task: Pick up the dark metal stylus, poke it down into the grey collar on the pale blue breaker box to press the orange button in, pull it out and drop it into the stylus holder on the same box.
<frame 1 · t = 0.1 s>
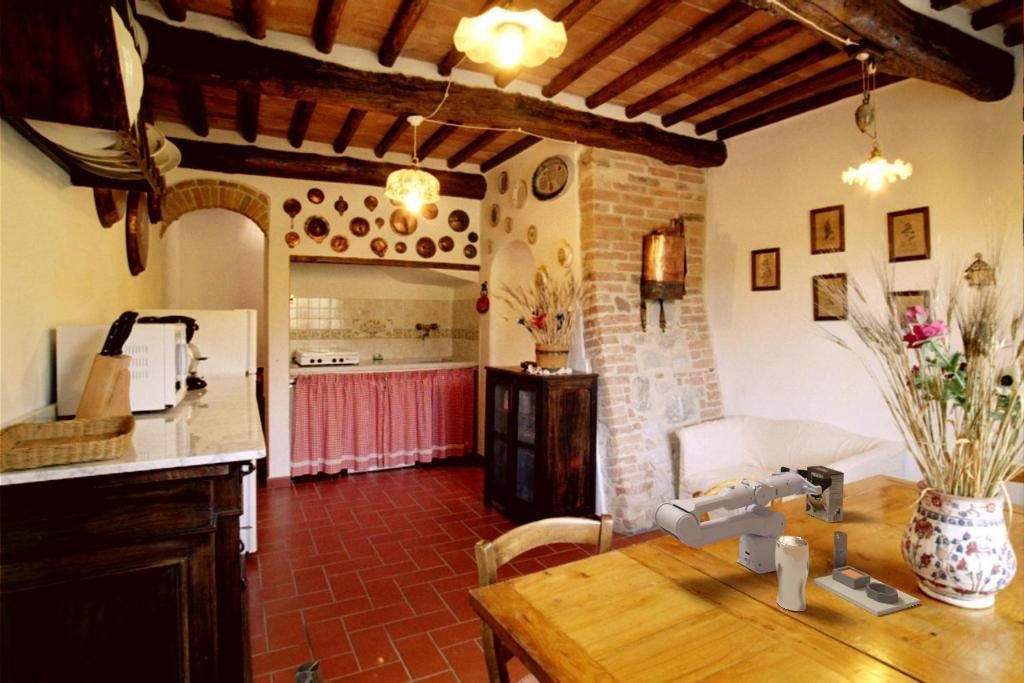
hand: (818, 477, 149), 22 cm above the table, tool horizontal, fingers open, 7 cm apart
panel: (864, 593, 128), on the table
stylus: (840, 567, 142), on the table
beer glass: (791, 606, 123), on the table
button: (851, 576, 131), point 3 cm above the table, slide at 0.0 cm
coffee box: (823, 518, 177), on the table
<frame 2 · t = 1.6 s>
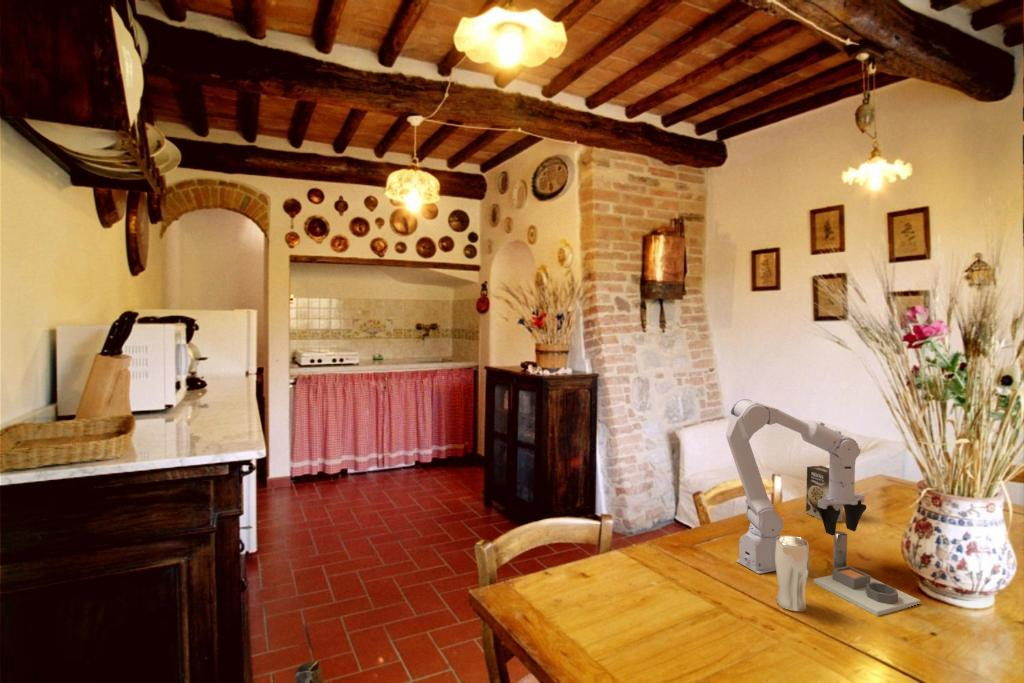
hand: (840, 531, 141), 9 cm above the table, tool pointing down, fingers open, 7 cm apart
nothing on the table moved.
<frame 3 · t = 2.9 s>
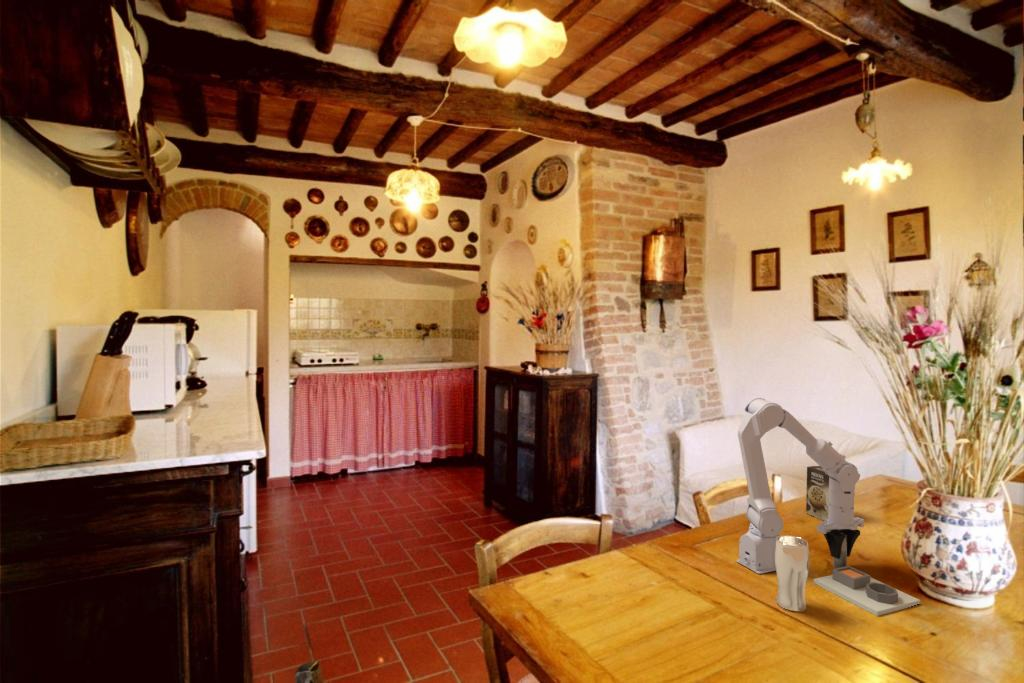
hand: (840, 556, 141), 3 cm above the table, tool pointing down, fingers closed on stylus, 3 cm apart
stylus: (840, 567, 142), on the table, touching gripper
everything else where it was.
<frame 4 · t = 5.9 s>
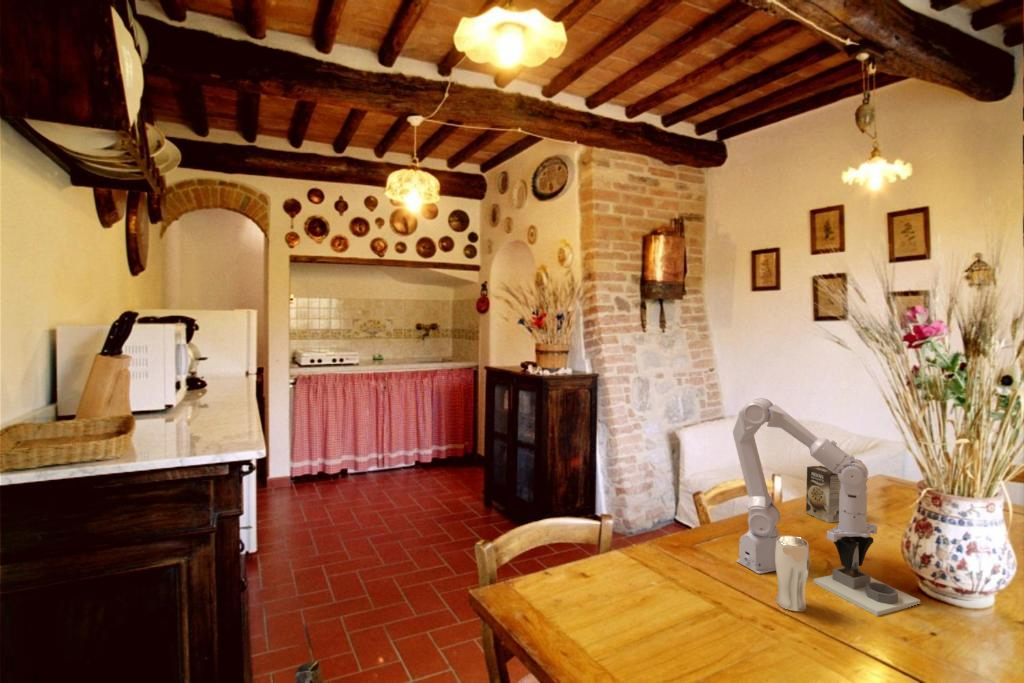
hand: (851, 565, 131), 5 cm above the table, tool pointing down, fingers closed on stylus, 3 cm apart
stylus: (851, 577, 131), point 2 cm above the table, touching button, gripper
button: (851, 579, 131), point 2 cm above the table, slide at 0.9 cm, touching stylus
everything else where it was.
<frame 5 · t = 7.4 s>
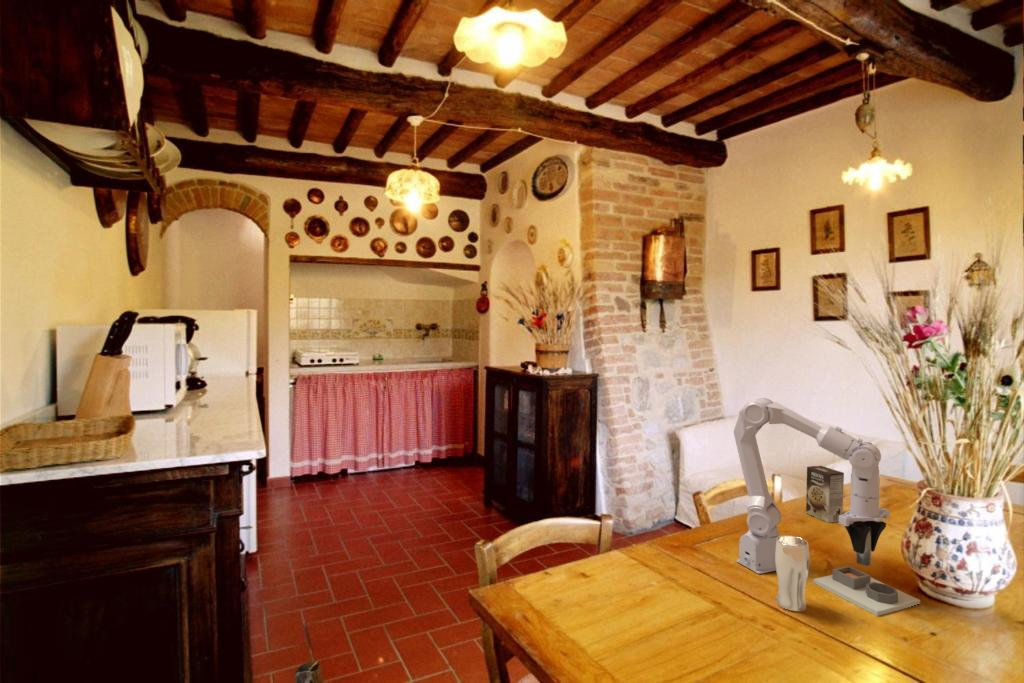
hand: (863, 551, 128), 10 cm above the table, tool pointing down, fingers closed on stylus, 3 cm apart
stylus: (863, 562, 128), point 7 cm above the table, touching gripper
button: (851, 579, 131), point 2 cm above the table, slide at 0.9 cm
everything else where it was.
when the fingers open (6 cm above the table, at t = 8.7 s): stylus drops 3 cm, resting on panel.
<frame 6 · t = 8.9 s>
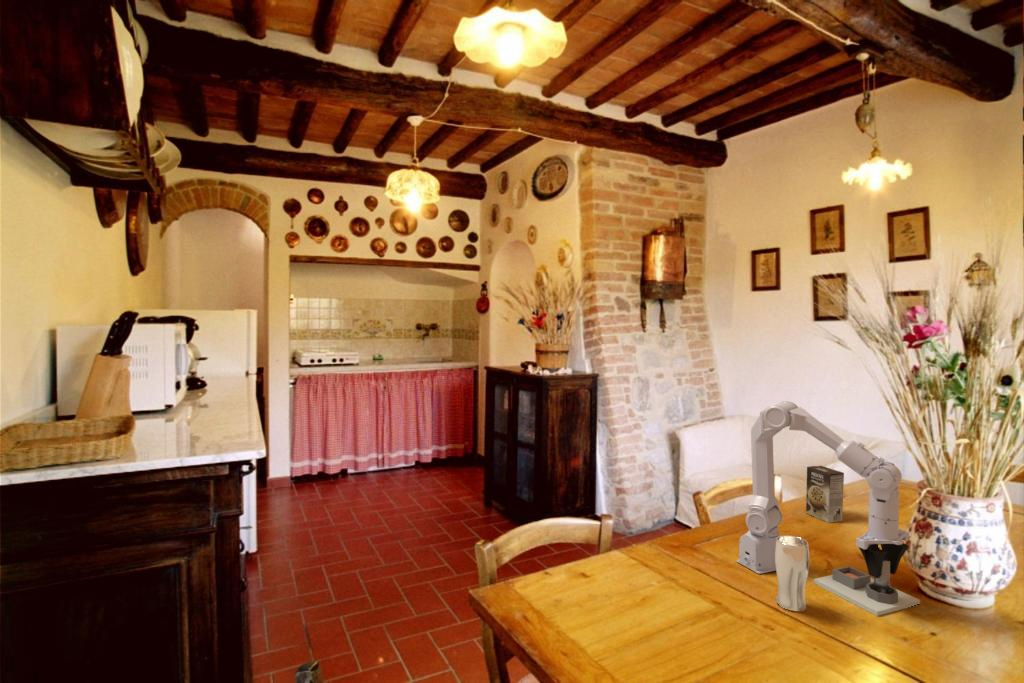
hand: (882, 574, 124), 6 cm above the table, tool pointing down, fingers open, 5 cm apart
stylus: (881, 597, 124), point 1 cm above the table, touching panel
everything else where it was.
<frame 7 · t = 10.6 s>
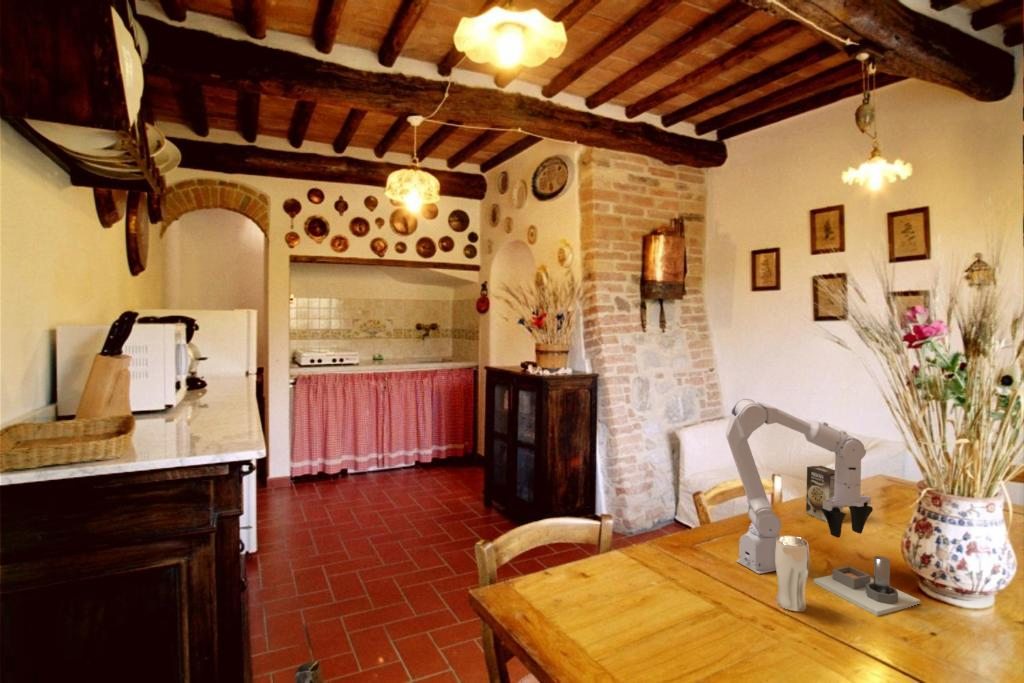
hand: (846, 534, 139), 10 cm above the table, tool pointing down, fingers open, 7 cm apart
nothing on the table moved.
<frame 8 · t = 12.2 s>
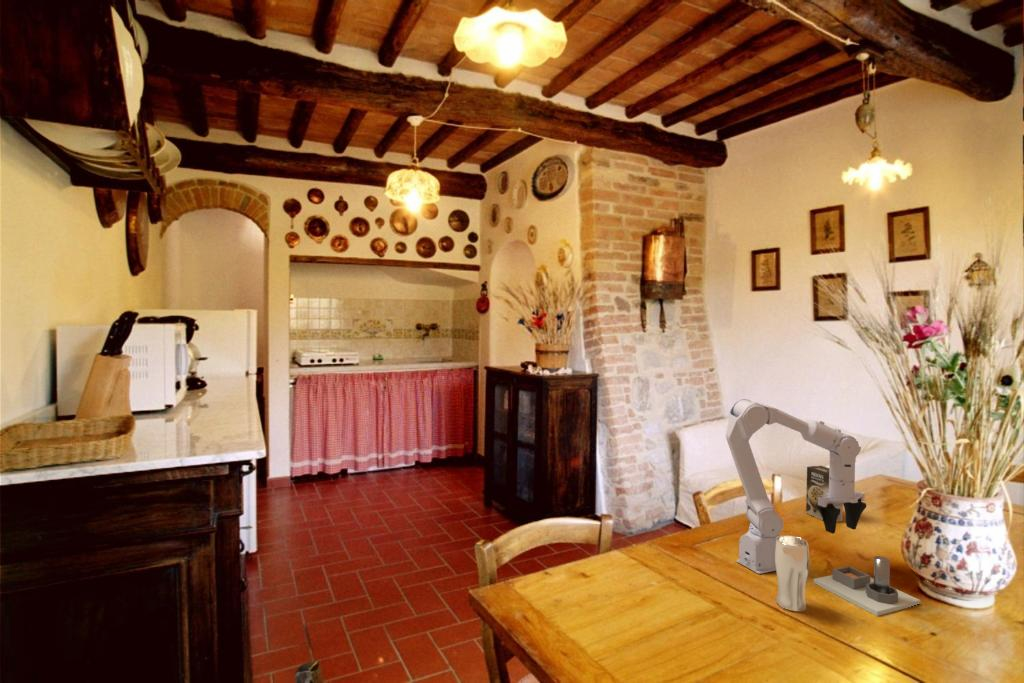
hand: (840, 530, 141), 10 cm above the table, tool pointing down, fingers open, 7 cm apart
nothing on the table moved.
at the end: button slide at 0.9 cm; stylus 0.0 cm from the target spot on the panel, point 1.0 cm above the panel's base; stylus tilted 0° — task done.
